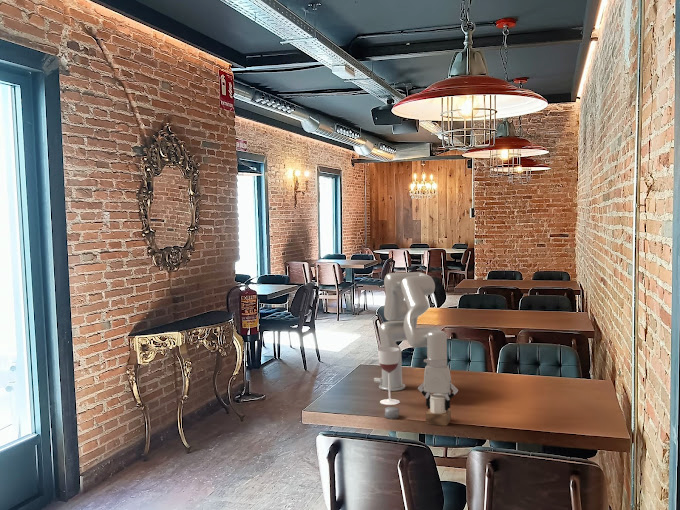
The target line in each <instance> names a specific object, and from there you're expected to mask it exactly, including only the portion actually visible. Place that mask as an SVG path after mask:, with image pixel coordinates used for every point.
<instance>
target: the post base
mask: <svg viewBox="0 0 680 510" xmlns="http://www.w3.org/2000/svg"><path fill="white" fill-rule="evenodd" d="M450 421H452V410H451V408H449V409H448V410H447V411H446V413H442V414H435V413H432V412H430V409H427V411H426V412H425V424H426V425H433V426H434V425H436V426H448V425H449V423H450Z"/></svg>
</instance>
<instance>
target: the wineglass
mask: <svg viewBox="0 0 680 510" xmlns="http://www.w3.org/2000/svg"><path fill="white" fill-rule="evenodd" d="M377 355H378V356H377V358H378V363H379V365H380V368H381V370H382V369H383V370H385V371H386V372H388V390H389V391H388V398H386V399H382V400H380V401H379V403H380V404H381V405H387V406H392V405H397V404H399V403H401V402H400V400H398V399H395V398H391V397H392V396H391V394H392V393H391V392H392V391H391V390H390V372H391V371H393V370H394V369H396V367H397V366H398V362H399V349H398V348H395V347H384V348H381V347H379V348H378V349H377Z"/></svg>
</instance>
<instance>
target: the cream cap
mask: <svg viewBox="0 0 680 510" xmlns="http://www.w3.org/2000/svg"><path fill="white" fill-rule="evenodd" d="M445 400H446V397H445V395H443V394H435V393H431V394H430V412H432V413H435V414H442V413H446V410H445Z"/></svg>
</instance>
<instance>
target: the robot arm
mask: <svg viewBox="0 0 680 510" xmlns="http://www.w3.org/2000/svg"><path fill="white" fill-rule="evenodd" d="M383 280H384V281H383V285H384V288H385V289H384V290H385V298H384V299H385V300H384V309H383V316H384V319H385V320H386V321H384V322H382V323H380V325H379V326H378V336H379V341H380V348H384V347H395V348H398V349H399V362H398V366H397V367H396V369H394V370H393V371H391V372H390V390H391V392H395V391H402V390H404V389H406V384H405V383H403V372H402V371H403V369H402V368H403V367H402V365H403V364H402V363H403V362H402V349H401V348H400V346H399V345H398V344H397V342H404V341H407V343H408V344H409V346H410V347H412V348H426V356H427V358H425V359H423V363H426V365H425V367H424V371H423V372H424V374H423V382H422V383H421V384H420V385H419V386H418V387H417V390H418V391H419V392H420V393H421V394H422V396H423V397H424V398H425V405H426V407H427V410H429V409H430V395H432V394H435V393H439V394H444V395H445V397H446V400H445V410H446V411H447V410H448V409H451V399H452V398H453V397H455V395H456V394H457V393H458V392H459V389H458V387H456V386H455V385H454V384H453V383H452V377H451V371H450V366H449V365H448V348H447V347H448V345H447V344H448V342H447V341H448V339H447V333H446V331H443V330H441V329H440V327H436V326H433V327H432V326H431V327H417V325H418V317H419V316H421V315H423V314H424V313H425V312H427V310H428V309H429V302H428V300H427V296H430V295H432V294H434V292H435V289H436V283H435V281H434V279H433V278H432V276H431V275H428V274H426V273H423V272H421V271H413V272H412V271H411V272H410V271H409V272H408V271H407V272H390V273H387V274H386V275H385V277H384V279H383ZM426 295H427V296H426ZM373 382H374V383H377V384H378V388H379V389H380V390H383V391H386V392H389V390H388V372H386V371H385V370H383V369H382V368H381V377H374V378H373ZM450 390H451V393H449V392H450Z"/></svg>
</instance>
